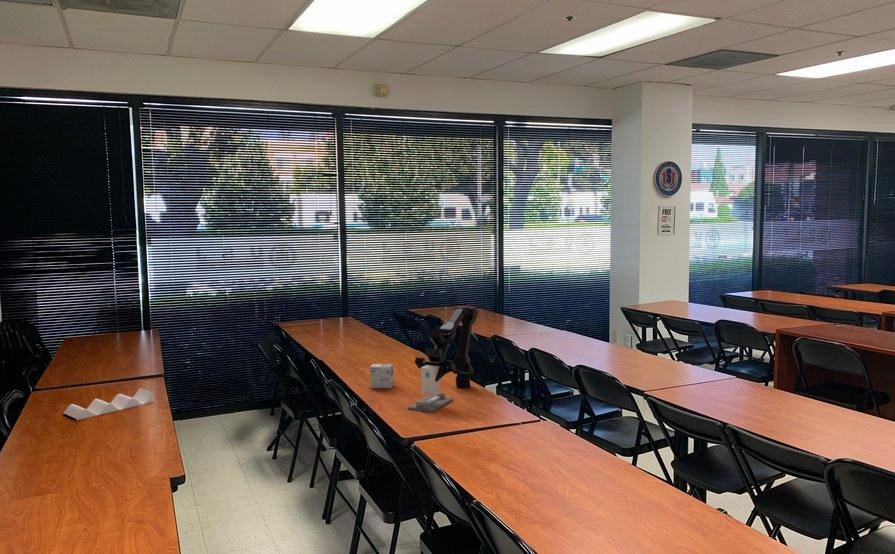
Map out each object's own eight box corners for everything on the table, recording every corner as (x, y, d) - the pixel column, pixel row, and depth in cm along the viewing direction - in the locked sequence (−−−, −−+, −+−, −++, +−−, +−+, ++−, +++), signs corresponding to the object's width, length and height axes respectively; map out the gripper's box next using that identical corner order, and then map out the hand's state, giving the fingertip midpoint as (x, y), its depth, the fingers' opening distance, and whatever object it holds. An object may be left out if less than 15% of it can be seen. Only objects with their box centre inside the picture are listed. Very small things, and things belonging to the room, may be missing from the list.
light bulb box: (394, 384, 334) (393, 363, 333) (391, 388, 327) (391, 366, 326) (373, 384, 335) (372, 363, 334) (370, 388, 328) (369, 366, 327)
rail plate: (429, 397, 311) (429, 390, 310) (452, 400, 305) (452, 393, 305) (407, 409, 293) (407, 401, 293) (432, 412, 288) (432, 404, 287)
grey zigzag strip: (61, 416, 291) (60, 405, 291) (140, 398, 318) (139, 387, 318) (73, 422, 283) (72, 410, 282) (154, 403, 310) (153, 392, 309)
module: (427, 392, 303) (426, 364, 301) (439, 393, 300) (439, 366, 298) (421, 395, 298) (420, 367, 296) (433, 396, 295) (433, 369, 293)
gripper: (415, 339, 304) (404, 368, 296) (452, 342, 296) (441, 373, 287) (424, 353, 312) (413, 382, 303) (460, 356, 304) (450, 386, 295)
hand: (429, 380), depth 297 cm, fingers closed on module, 6 cm apart
